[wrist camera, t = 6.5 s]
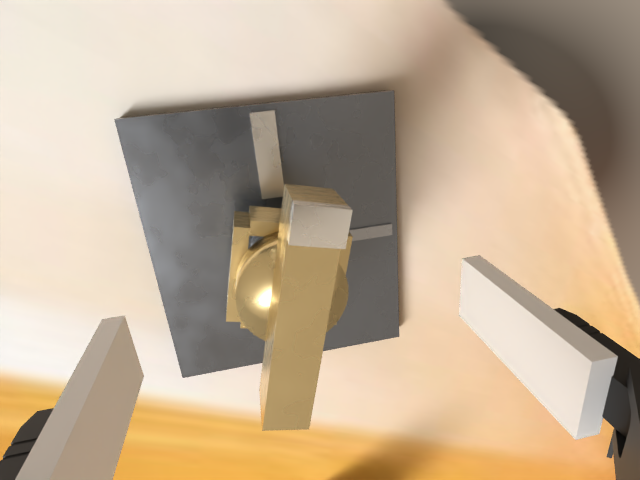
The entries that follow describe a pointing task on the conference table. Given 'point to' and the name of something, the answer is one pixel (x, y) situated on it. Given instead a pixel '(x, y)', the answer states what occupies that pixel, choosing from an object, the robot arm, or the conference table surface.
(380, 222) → the plate
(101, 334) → the robot arm
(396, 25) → the conference table surface
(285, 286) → the collar
